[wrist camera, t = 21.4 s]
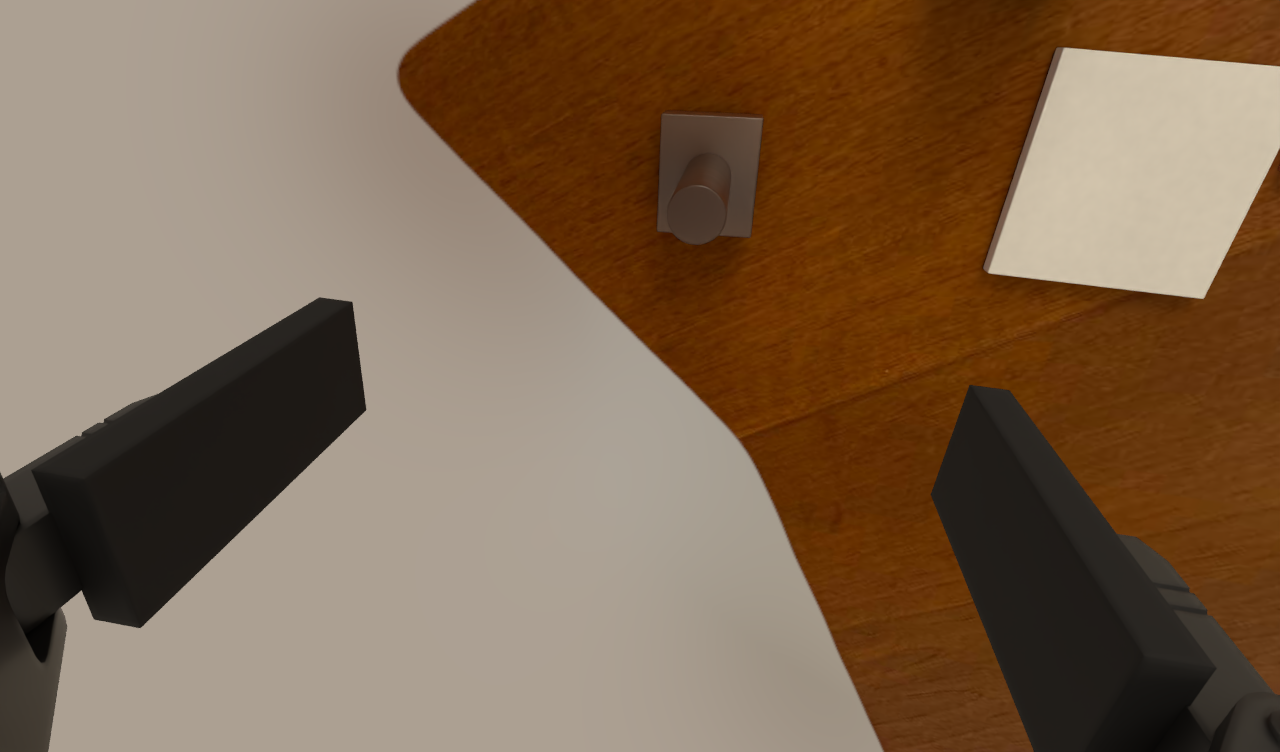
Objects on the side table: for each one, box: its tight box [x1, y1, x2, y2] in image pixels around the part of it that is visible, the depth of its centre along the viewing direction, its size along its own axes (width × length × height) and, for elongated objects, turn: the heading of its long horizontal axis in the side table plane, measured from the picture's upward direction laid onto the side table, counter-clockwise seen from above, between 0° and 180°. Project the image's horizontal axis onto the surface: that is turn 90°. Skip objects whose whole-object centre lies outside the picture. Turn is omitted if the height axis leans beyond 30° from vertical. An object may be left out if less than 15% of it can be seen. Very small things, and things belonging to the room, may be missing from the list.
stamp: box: [657, 110, 763, 245], centre depth 34 cm, size 6×5×12 cm
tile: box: [983, 47, 1280, 299], centre depth 36 cm, size 12×12×1 cm
